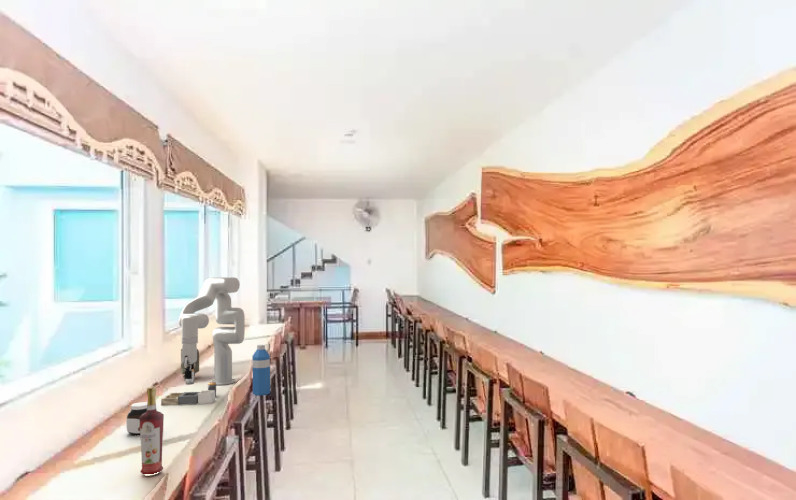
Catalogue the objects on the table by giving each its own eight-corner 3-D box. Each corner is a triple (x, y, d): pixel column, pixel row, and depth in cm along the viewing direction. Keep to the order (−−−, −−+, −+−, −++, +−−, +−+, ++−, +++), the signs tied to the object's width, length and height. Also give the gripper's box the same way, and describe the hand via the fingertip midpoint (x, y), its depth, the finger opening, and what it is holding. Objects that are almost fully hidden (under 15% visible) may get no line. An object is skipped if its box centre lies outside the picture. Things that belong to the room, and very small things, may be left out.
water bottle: (273, 391, 299) (272, 343, 299) (267, 395, 290) (266, 346, 290) (255, 391, 300) (255, 343, 300) (249, 395, 291) (249, 346, 291)
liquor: (167, 469, 189) (166, 385, 190) (159, 477, 182) (158, 390, 182) (145, 469, 189) (144, 385, 189) (135, 478, 182) (135, 390, 182)
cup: (202, 400, 281) (202, 390, 281) (215, 400, 281) (215, 390, 281) (198, 403, 275) (197, 393, 275) (211, 403, 275) (211, 393, 275)
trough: (170, 398, 285) (170, 392, 285) (186, 398, 286) (186, 392, 286) (161, 405, 273) (161, 398, 273) (177, 404, 274) (177, 398, 274)
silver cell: (187, 382, 281) (187, 368, 281) (195, 382, 281) (195, 368, 281) (184, 384, 277) (184, 370, 277) (192, 384, 277) (192, 370, 277)
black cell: (209, 395, 291) (209, 382, 291) (217, 395, 291) (217, 382, 291) (206, 397, 287) (206, 383, 287) (214, 397, 287) (214, 383, 287)
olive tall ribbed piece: (181, 377, 338) (180, 335, 338) (197, 375, 342) (196, 334, 342) (182, 382, 325) (182, 338, 325) (199, 380, 328) (199, 337, 329)
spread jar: (125, 437, 225) (124, 407, 225) (130, 428, 236) (130, 400, 236) (157, 434, 228) (157, 405, 228) (161, 426, 239) (161, 398, 239)
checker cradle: (184, 399, 283) (184, 392, 283) (202, 399, 283) (202, 391, 283) (177, 404, 274) (177, 396, 274) (196, 404, 274) (196, 396, 274)
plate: (187, 396, 281) (187, 395, 281) (196, 396, 281) (196, 395, 281) (183, 399, 276) (183, 397, 276) (193, 399, 276) (193, 397, 276)
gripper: (187, 338, 287) (188, 374, 287) (176, 343, 271) (176, 381, 270) (202, 338, 288) (202, 374, 287) (191, 342, 271) (192, 381, 271)
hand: (189, 377), depth 279 cm, fingers closed on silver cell, 4 cm apart
